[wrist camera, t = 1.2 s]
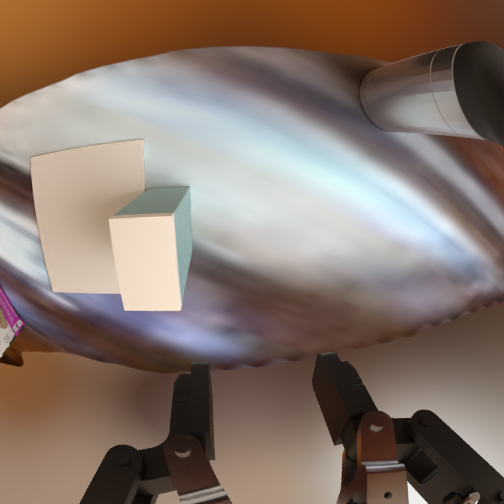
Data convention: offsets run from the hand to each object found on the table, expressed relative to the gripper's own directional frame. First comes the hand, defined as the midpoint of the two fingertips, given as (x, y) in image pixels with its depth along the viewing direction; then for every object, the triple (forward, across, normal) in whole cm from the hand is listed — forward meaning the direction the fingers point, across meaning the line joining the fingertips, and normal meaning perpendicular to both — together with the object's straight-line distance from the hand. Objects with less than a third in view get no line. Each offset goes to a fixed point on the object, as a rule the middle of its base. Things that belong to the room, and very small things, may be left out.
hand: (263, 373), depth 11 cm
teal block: (+25, +8, 0) cm, 26 cm away
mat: (+25, +19, 0) cm, 32 cm away
